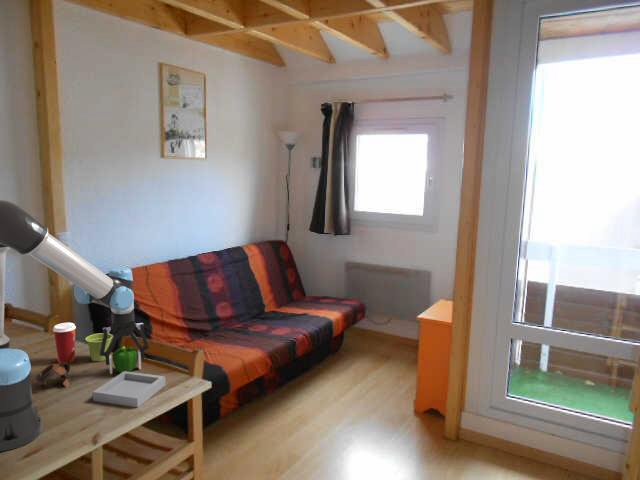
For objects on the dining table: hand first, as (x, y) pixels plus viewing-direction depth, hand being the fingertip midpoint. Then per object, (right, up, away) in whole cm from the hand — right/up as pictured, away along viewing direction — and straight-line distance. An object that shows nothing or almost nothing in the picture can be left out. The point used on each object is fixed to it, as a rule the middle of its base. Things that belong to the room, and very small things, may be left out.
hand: (125, 370), depth 173 cm
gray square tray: (+8, -3, -16) cm, 19 cm away
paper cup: (-26, +1, +8) cm, 27 cm away
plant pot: (-14, +1, +10) cm, 17 cm away
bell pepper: (0, 0, 0) cm, 0 cm away
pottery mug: (-19, -2, -11) cm, 22 cm away
